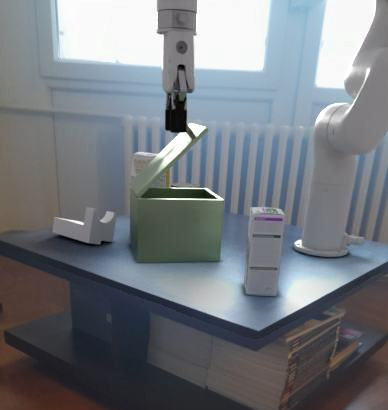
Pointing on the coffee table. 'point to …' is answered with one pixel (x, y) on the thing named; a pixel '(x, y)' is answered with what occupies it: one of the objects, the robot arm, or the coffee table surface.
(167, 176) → the juice carton
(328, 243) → the robot arm
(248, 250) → the syrup box
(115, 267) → the coffee table surface
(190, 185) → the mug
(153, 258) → the trash bin
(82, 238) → the bracket
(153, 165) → the bin lid
